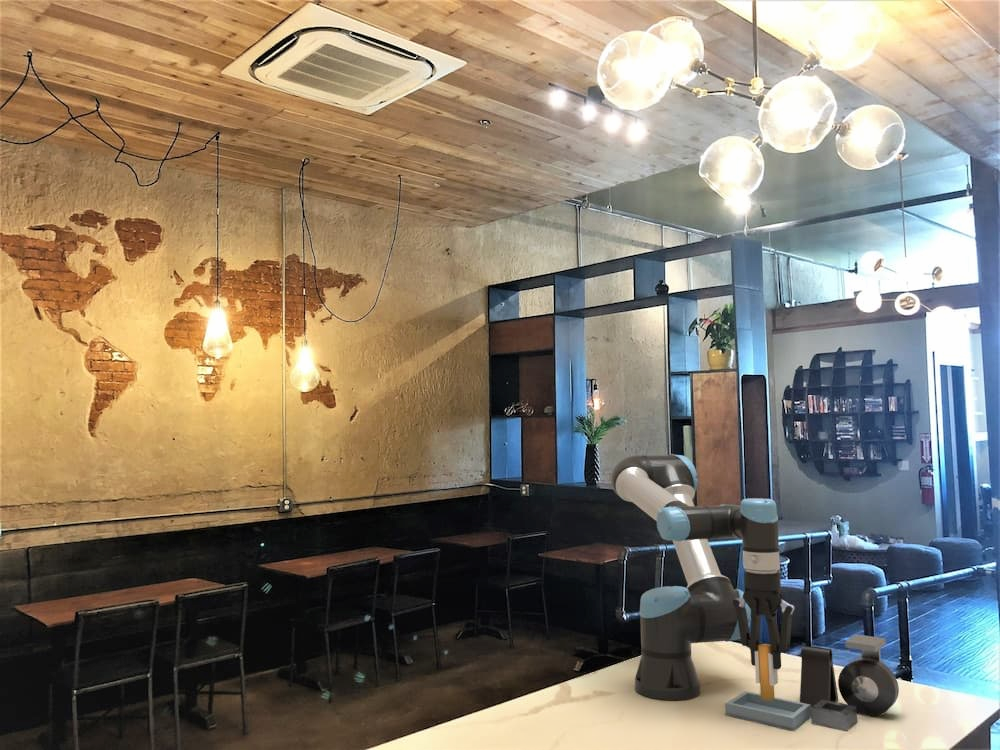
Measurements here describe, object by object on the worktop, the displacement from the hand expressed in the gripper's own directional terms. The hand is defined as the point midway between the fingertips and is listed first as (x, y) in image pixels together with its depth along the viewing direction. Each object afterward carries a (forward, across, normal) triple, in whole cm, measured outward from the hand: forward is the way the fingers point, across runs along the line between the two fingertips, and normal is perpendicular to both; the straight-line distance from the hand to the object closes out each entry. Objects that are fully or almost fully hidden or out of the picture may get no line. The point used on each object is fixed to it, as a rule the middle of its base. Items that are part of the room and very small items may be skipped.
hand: (766, 682), depth 161 cm
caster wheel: (+7, +16, +16) cm, 23 cm away
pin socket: (+7, +12, +5) cm, 15 cm away
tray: (+7, 0, 0) cm, 7 cm away
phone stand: (+7, +5, +16) cm, 18 cm away
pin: (+3, 0, 0) cm, 3 cm away
